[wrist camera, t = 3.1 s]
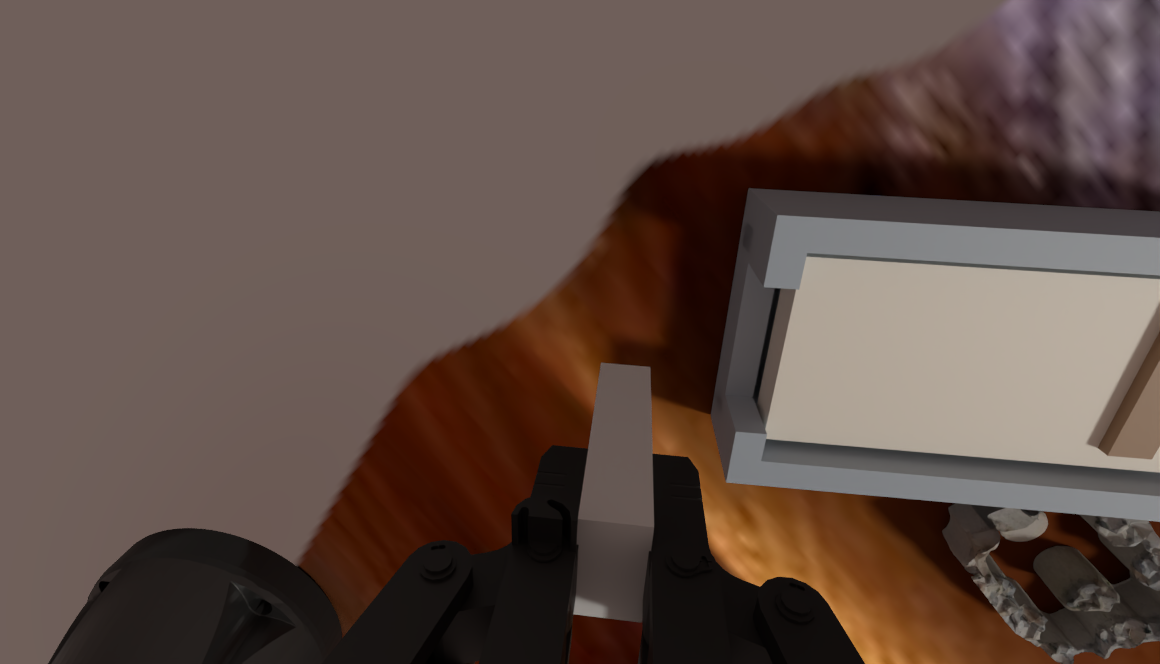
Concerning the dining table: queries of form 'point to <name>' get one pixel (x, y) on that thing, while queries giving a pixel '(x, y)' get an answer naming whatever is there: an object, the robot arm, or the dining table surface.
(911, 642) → the dining table surface
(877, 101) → the dining table surface
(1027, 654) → the dining table surface
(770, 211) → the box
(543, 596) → the robot arm
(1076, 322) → the lid
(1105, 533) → the egg carton
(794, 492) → the dining table surface
